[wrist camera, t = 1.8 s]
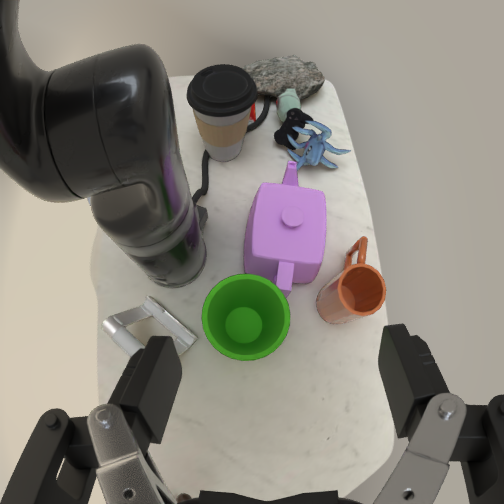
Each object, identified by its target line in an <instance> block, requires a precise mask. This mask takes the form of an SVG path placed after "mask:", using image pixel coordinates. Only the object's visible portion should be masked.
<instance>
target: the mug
mask: <svg viewBox="0 0 504 504" xmlns="http://www.w3.org/2000/svg"><path fill="white" fill-rule="evenodd" d="M367 242H368V239H367V238H366V237H365V236H363V237H361V238H360V239H359V240H358V241H357V242H356V243H355V244H354V245H353V246H352V247H351V248H350V249H349V250H348V251H347V252H346V258H345V264H344V270H343V272H341V273H340V274H339V275H338V276H336V277H335V278H334V279H333V280H331V281H330V282H329V283H328V284H326V285H325V286H324V287H323V288H322V289H321V290H320V292H319V294H318V296H317V301H316V305H317V310H318V312H319V314H320V316H321V317H322V318H323V319H324V320H325V321H327V322H329V323H331V324H342V323H346V322H350V321H353V320H356V319H359V318H362V317H365V316H368V315H371V314H373V313H375V312H376V311H377V310H379V309H380V308H381V306H382V304H383V302H384V301H385V295H386V287H385V283H384V279H383V278H382V276H381V275H380V273H379V272H378V271H377V270H376V269H374V268H373V267H372V266H370V265H366V264H365V259H366V251H367ZM358 250H359V251H358ZM357 251H358V259H357V264H354V265H352V258H353V255H354V254H355V253H356V252H357Z"/></svg>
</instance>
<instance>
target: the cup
mask: <svg viewBox="0 0 504 504" xmlns="http://www.w3.org/2000/svg"><path fill="white" fill-rule="evenodd" d="M202 324H203V329H204V332H205V334H206V337H207V339H208V340H209V341H210V343H211V344H212V345H213V347H214V348H215V349H217V350H218V351H219V352H220V353H222V354H223V355H225V356H227V357H230V358H232V359H236V360H241V361H251V360H257V359H260V358H263V357H265V356H267V355H269V354H271V353H272V352H274V351H275V350H276V349H277V348H278V347H279V346H280V345H281V344H282V342H283V340H284V339H285V337H286V335H287V332H288V329H289V326H290V310H289V305H288V302H287V300H286V298H285V296H284V294H283V293H282V292H281V290H280V289H279V288H278V287H277V286H276V285H275V284H274V283H272V282H271V281H270V280H268V279H266V278H264V277H261V276H259V275H254V274H237V275H234V276H230V277H228V278H226V279H224V280H222V281H220V282H219V283H218V284H217V285H216V286H215V287H214V288H212V290H211V291H210V293H209V294H208V296H207V297H206V299H205V302H204V305H203V309H202Z"/></svg>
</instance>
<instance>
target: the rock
mask: <svg viewBox="0 0 504 504" xmlns="http://www.w3.org/2000/svg"><path fill="white" fill-rule="evenodd" d="M243 70H245V71H246V72H247V73H248V74H249V75H250V76H251V78H252V79H253V80H254V82H255V83H256V86H257V92H258V94H259V95H270V96H275V97H279V96H280V95H281V94H283V93H285V91H286V90H287V89H295V91H296V94H297V96H298V98H299V100H300V99H302V98H306V97H309V96H310V95H312V94H314V93H316V92H317V91H318V90H319V89H320V88H321V86H322V85H323V83H324V81H325V80H324V77H323V75H322V73H321V72H319V71H318V69H317V67H316V64H315V63H313V62H304V61H302V60H301V59H299V58H298V57H297V56H296V55H293V56H287V57H282V58H281V57H278V58H273V59H271V60H263V61H257V62H254V63H252V64H251V65H247V66H245V67H244V68H243Z"/></svg>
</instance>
